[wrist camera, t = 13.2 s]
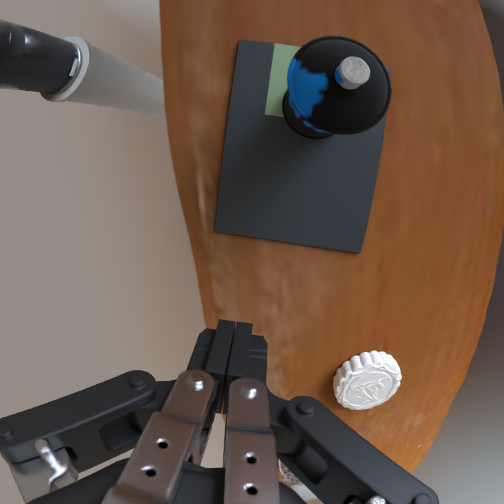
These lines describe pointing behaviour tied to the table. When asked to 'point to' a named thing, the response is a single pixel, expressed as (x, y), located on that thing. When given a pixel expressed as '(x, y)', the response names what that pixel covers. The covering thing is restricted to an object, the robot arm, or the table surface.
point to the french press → (298, 488)
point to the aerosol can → (335, 88)
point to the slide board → (290, 164)
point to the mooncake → (366, 380)
